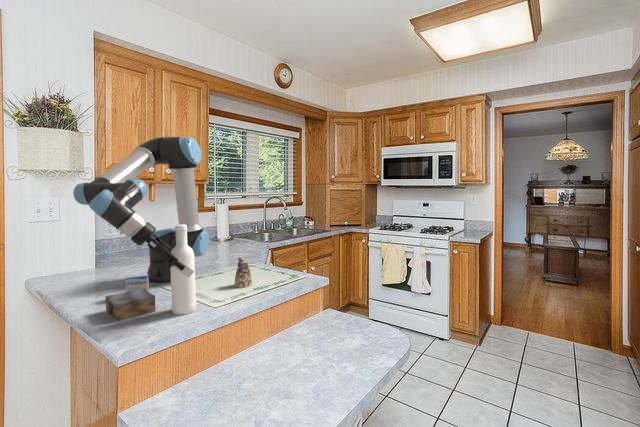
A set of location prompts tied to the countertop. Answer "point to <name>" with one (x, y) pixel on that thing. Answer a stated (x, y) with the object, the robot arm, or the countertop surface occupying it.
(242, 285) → the figurine
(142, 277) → the medicine box
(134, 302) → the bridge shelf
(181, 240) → the bottle
